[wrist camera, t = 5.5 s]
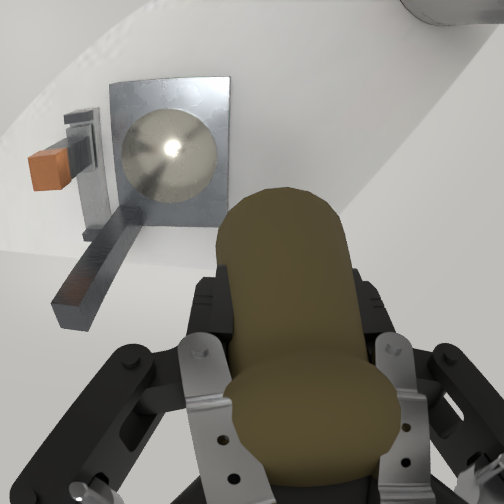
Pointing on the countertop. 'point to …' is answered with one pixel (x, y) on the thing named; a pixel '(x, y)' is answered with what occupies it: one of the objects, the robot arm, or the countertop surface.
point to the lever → (63, 160)
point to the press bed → (154, 178)
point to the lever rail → (92, 177)
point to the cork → (301, 344)
